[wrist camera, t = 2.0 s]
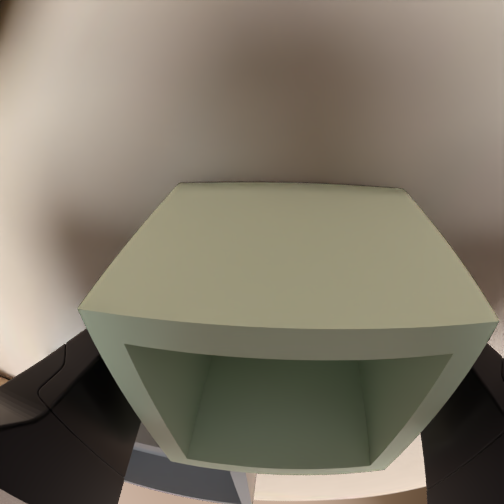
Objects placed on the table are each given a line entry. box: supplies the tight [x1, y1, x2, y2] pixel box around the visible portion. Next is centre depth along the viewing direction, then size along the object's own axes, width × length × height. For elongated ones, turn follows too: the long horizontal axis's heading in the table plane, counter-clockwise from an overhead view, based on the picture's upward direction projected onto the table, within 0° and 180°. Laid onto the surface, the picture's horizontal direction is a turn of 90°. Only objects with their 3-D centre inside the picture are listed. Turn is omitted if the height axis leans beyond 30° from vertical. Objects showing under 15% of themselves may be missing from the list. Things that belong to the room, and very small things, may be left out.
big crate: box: [124, 422, 257, 504], centre depth 15 cm, size 11×11×4 cm
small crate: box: [78, 182, 499, 475], centre depth 7 cm, size 6×6×5 cm
